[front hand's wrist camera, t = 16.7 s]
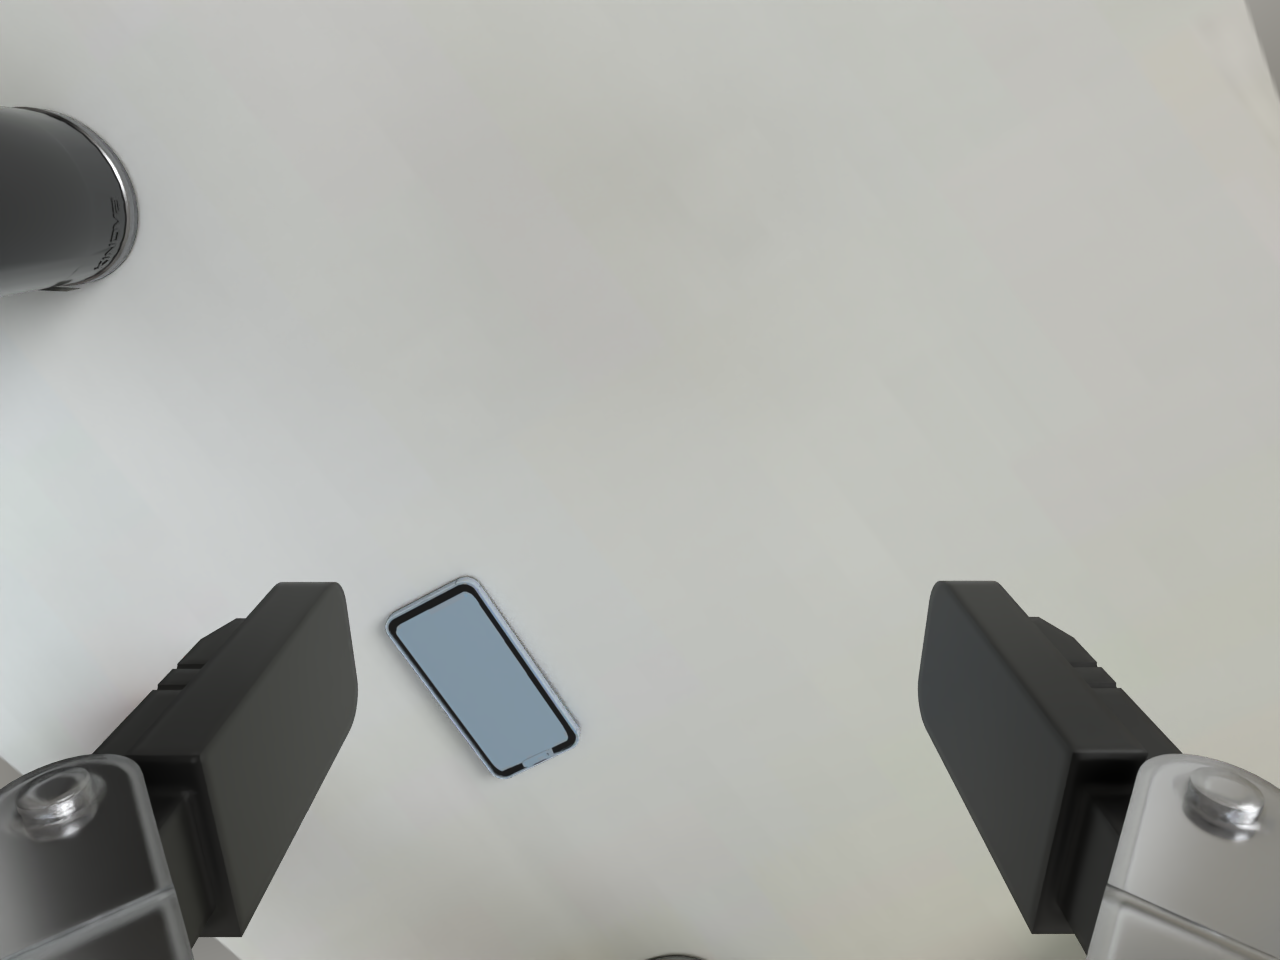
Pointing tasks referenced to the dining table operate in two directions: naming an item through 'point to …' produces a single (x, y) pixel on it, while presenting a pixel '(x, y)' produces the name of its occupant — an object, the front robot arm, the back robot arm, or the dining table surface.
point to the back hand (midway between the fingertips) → (173, 733)
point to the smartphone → (483, 678)
